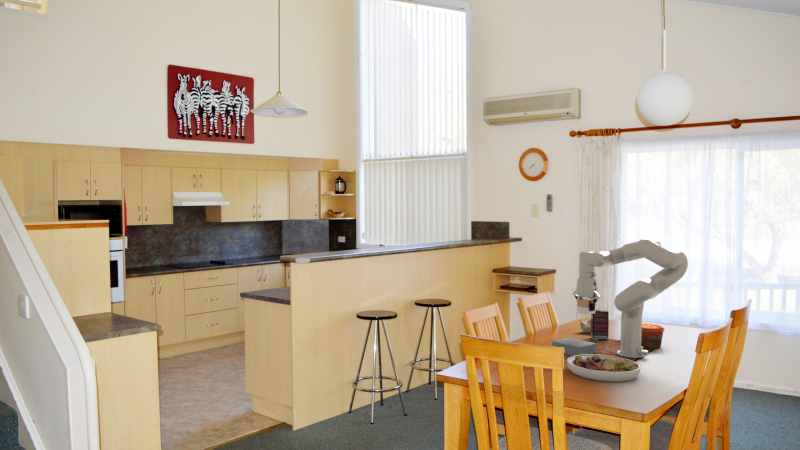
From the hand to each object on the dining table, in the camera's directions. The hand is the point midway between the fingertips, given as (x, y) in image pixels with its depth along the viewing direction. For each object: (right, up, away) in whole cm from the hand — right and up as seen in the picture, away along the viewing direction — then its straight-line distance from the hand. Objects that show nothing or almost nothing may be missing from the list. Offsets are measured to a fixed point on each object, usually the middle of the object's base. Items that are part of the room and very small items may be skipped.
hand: (586, 309), depth 300 cm
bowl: (-9, -21, -49) cm, 54 cm away
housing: (0, -2, 0) cm, 2 cm away
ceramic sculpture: (+16, -19, +36) cm, 44 cm away
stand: (-10, -20, -12) cm, 25 cm away
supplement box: (+14, -20, +21) cm, 32 cm away
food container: (+34, -20, +5) cm, 40 cm away
